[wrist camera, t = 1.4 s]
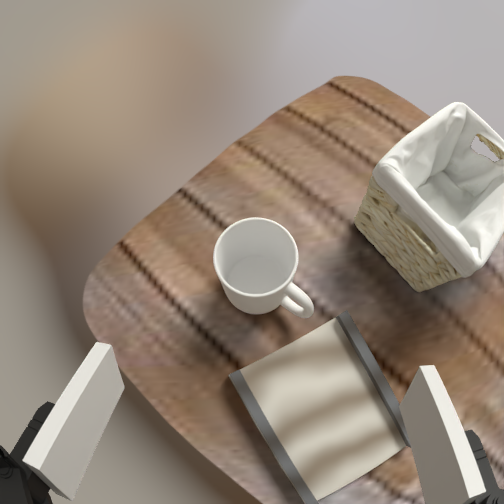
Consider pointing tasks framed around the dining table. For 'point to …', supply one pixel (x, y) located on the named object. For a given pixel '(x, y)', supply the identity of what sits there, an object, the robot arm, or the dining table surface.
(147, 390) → the dining table surface
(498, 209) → the storage basket
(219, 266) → the cup
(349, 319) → the rail board
